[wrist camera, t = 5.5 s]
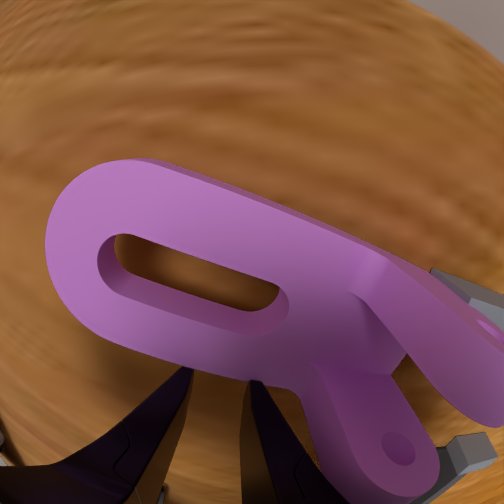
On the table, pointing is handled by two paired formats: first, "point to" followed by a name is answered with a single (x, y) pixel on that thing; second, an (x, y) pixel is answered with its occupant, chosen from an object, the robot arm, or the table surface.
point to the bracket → (282, 315)
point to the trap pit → (441, 478)
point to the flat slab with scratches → (0, 440)
